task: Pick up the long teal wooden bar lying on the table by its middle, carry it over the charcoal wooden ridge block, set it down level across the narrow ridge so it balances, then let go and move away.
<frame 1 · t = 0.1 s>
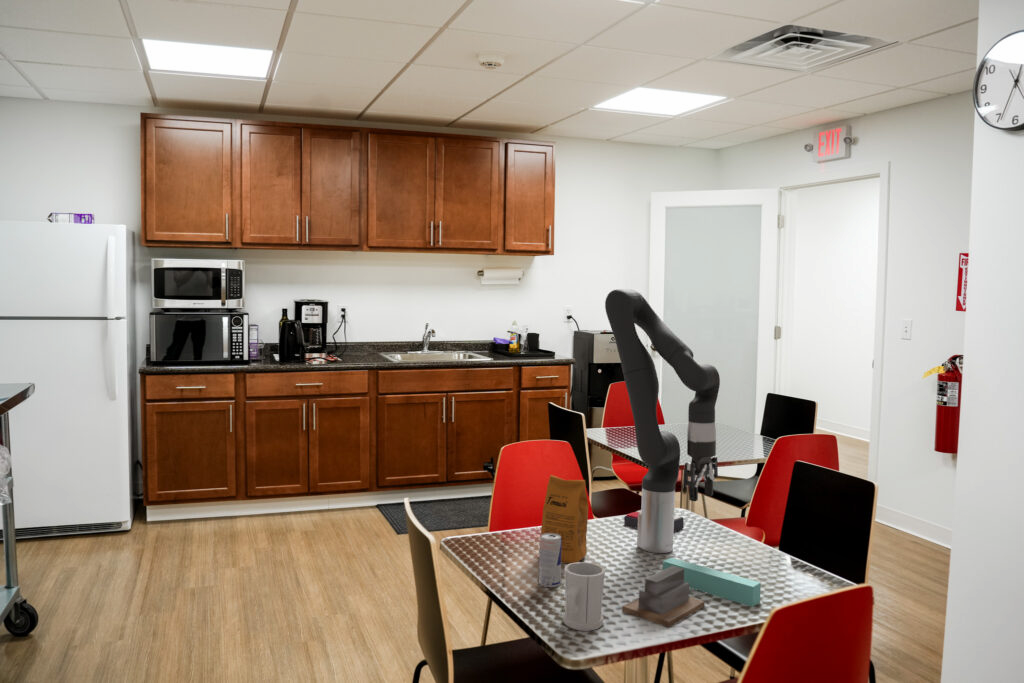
hand: (701, 497, 209), 17 cm above the table, tool pointing down, fingers open, 8 cm apart
ridge block: (663, 608, 176), on the table
cup: (583, 625, 166), on the table
teal bar: (709, 591, 188), on the table
coffee package: (563, 557, 209), on the table
energy drink: (549, 584, 189), on the table
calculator: (653, 528, 240), on the table
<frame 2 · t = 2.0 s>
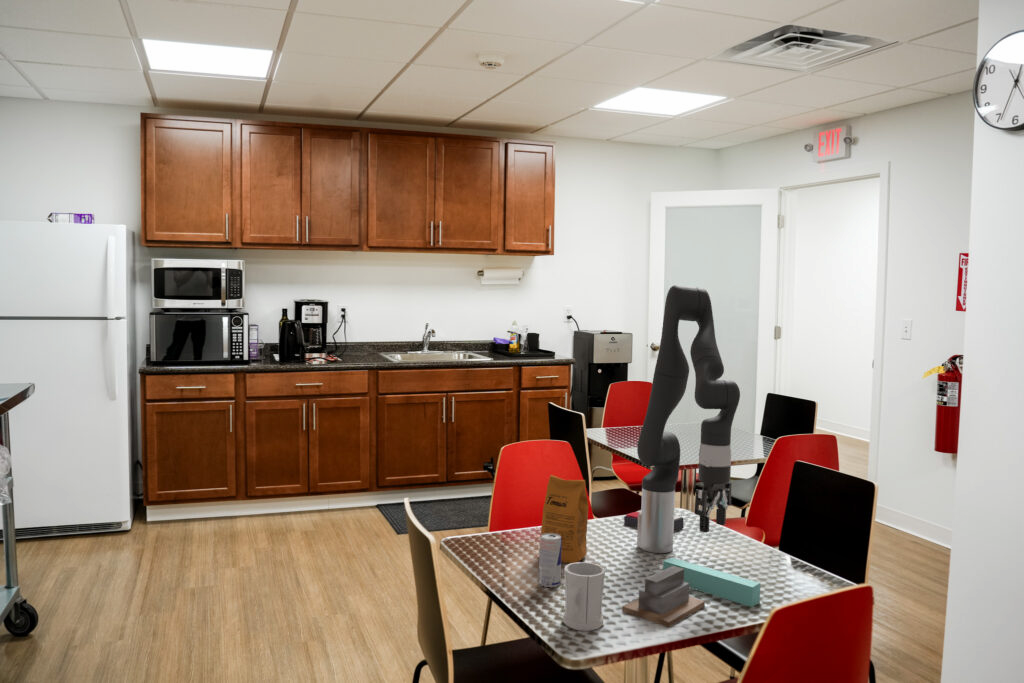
hand: (712, 528, 187), 15 cm above the table, tool pointing down, fingers open, 8 cm apart
nothing on the table moved.
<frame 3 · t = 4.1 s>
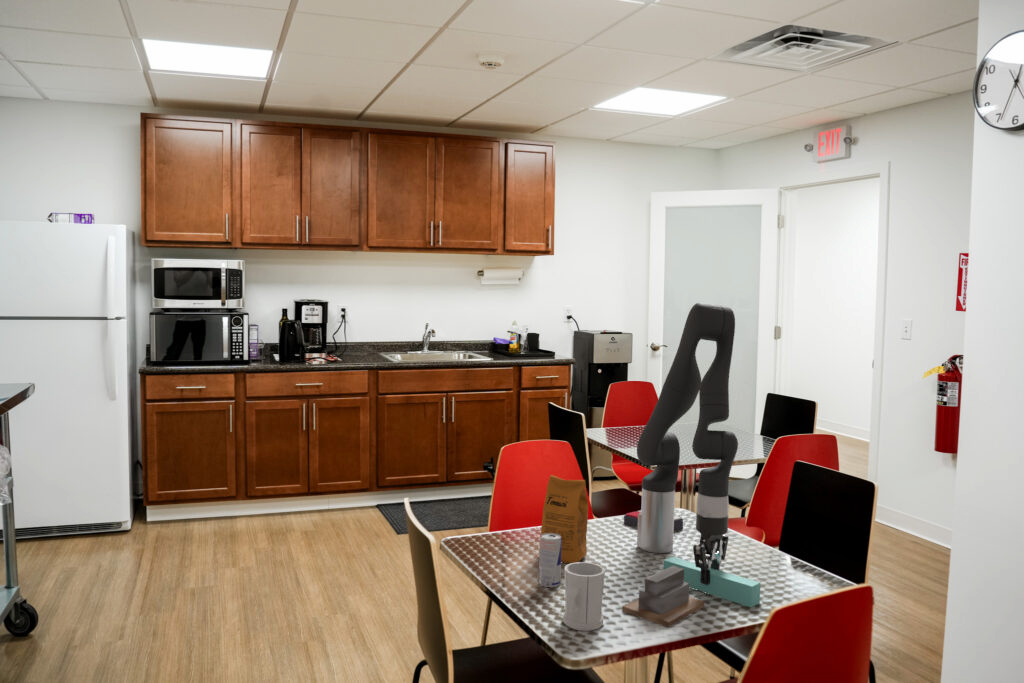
hand: (709, 581, 188), 2 cm above the table, tool pointing down, fingers closed on teal bar, 4 cm apart
teal bar: (709, 590, 188), on the table, touching gripper
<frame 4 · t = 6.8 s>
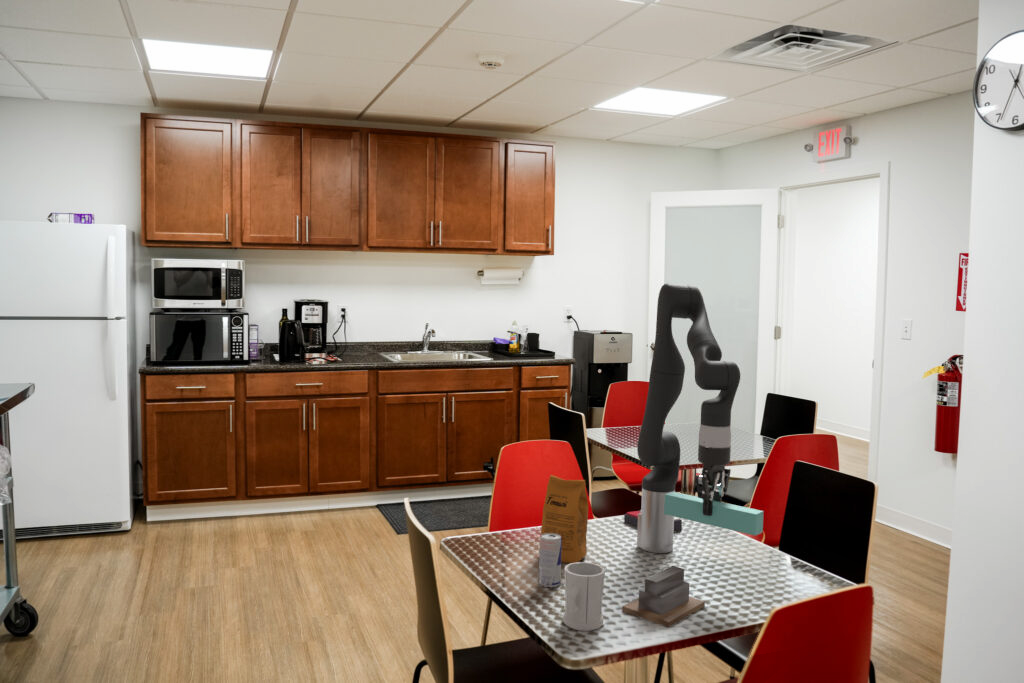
hand: (711, 513, 187), 19 cm above the table, tool pointing down, fingers closed on teal bar, 4 cm apart
teal bar: (711, 522, 187), point 17 cm above the table, touching gripper
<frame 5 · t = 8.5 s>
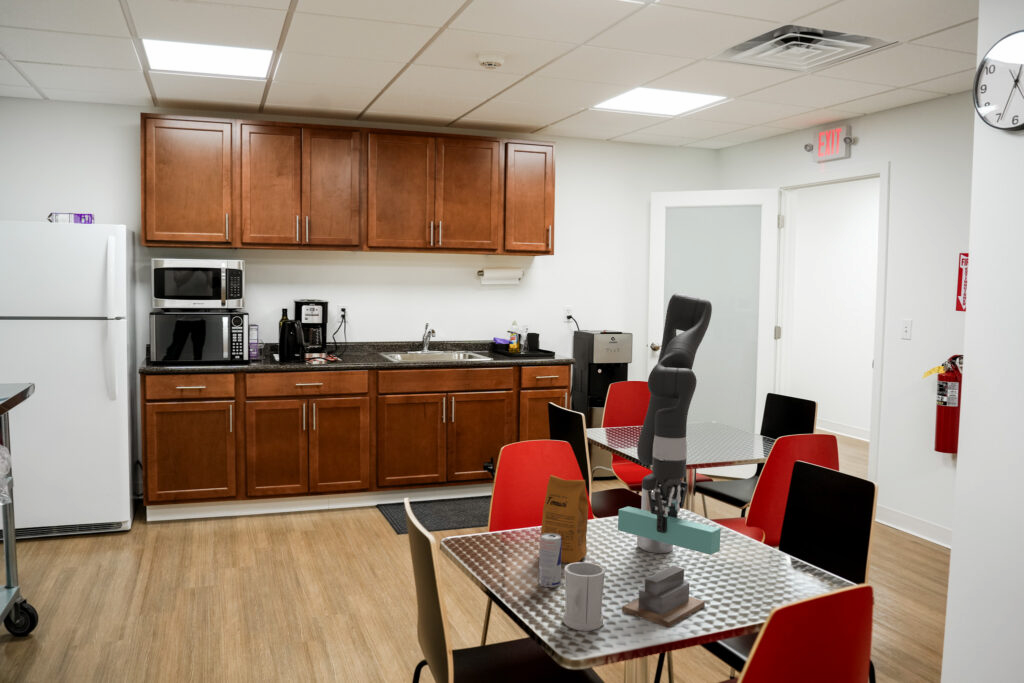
hand: (666, 529, 175), 18 cm above the table, tool pointing down, fingers closed on teal bar, 4 cm apart
teal bar: (666, 540, 175), point 16 cm above the table, touching gripper
when the fingers open (11 cm above the table, at t = 10.0 s): teal bar stays where it is, resting on ridge block.
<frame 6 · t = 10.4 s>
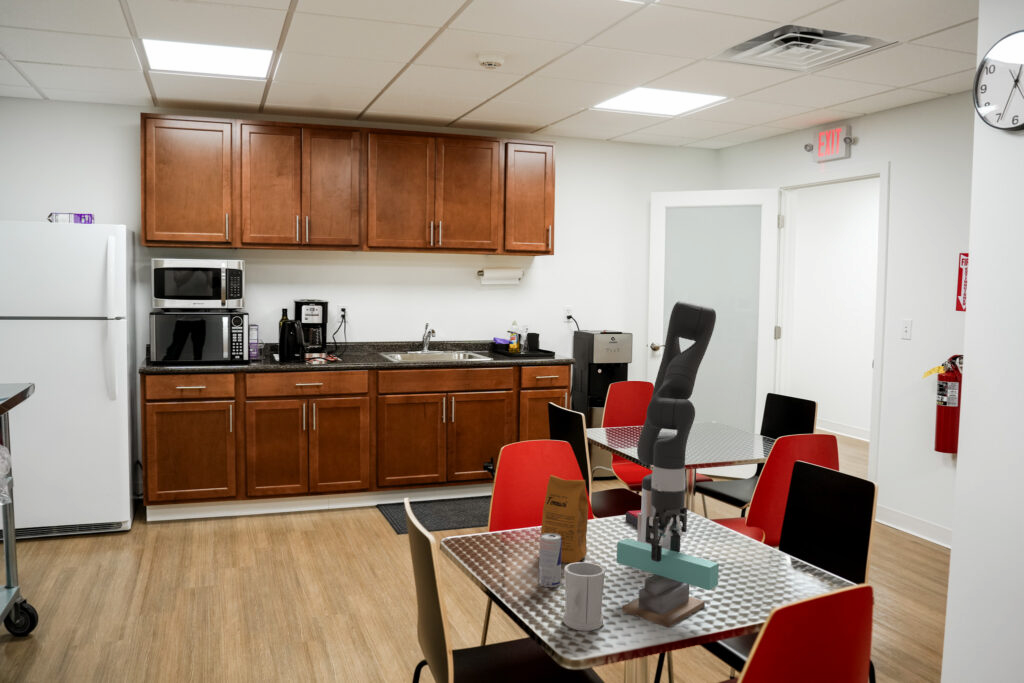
hand: (665, 556, 175), 12 cm above the table, tool pointing down, fingers open, 8 cm apart
teal bar: (665, 573, 175), point 8 cm above the table, touching ridge block
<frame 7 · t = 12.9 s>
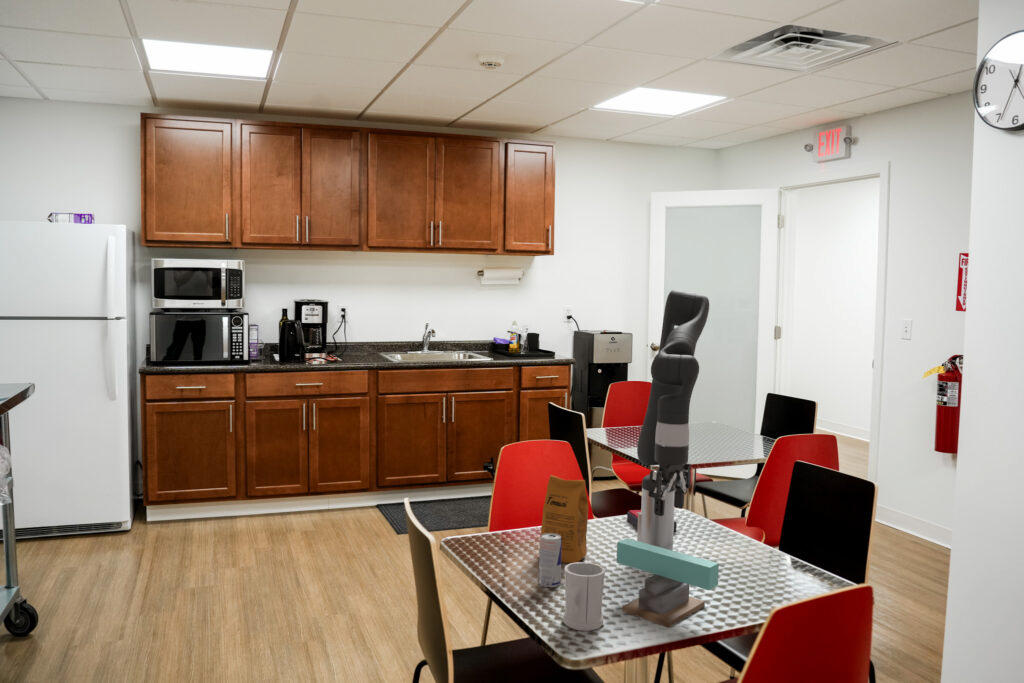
hand: (669, 511, 176), 22 cm above the table, tool pointing down, fingers open, 8 cm apart
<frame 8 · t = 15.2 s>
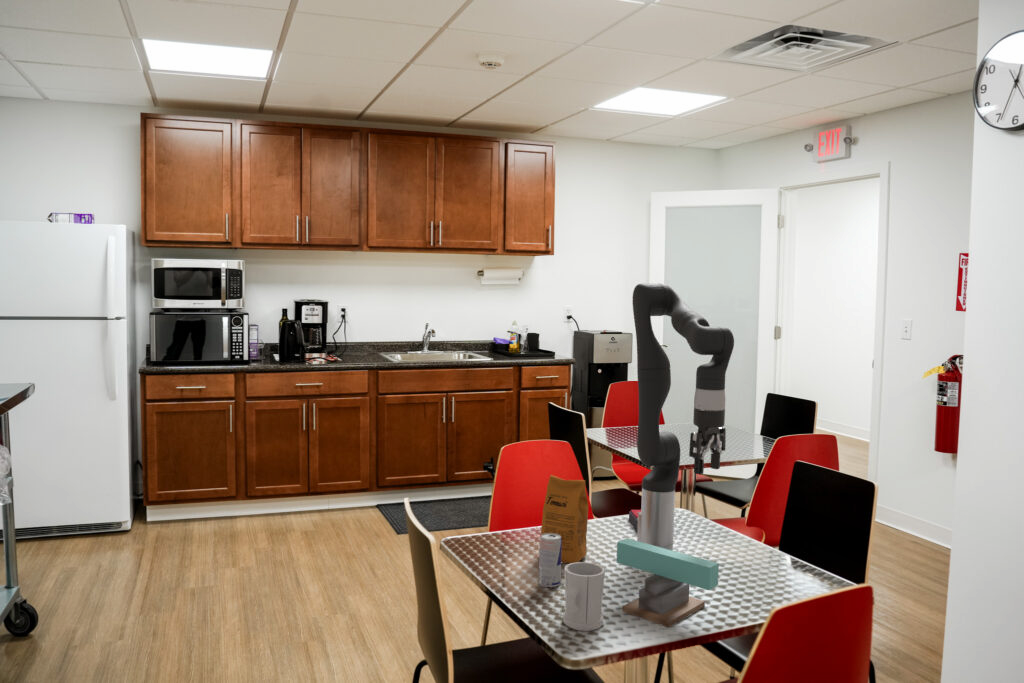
hand: (706, 471, 192), 28 cm above the table, tool pointing down, fingers open, 8 cm apart
at the end: teal bar 0.0 cm off-centre on the ridge block, point 8.2 cm above the ridge block's base; teal bar tilted 0°; the gripper is holding nothing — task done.
